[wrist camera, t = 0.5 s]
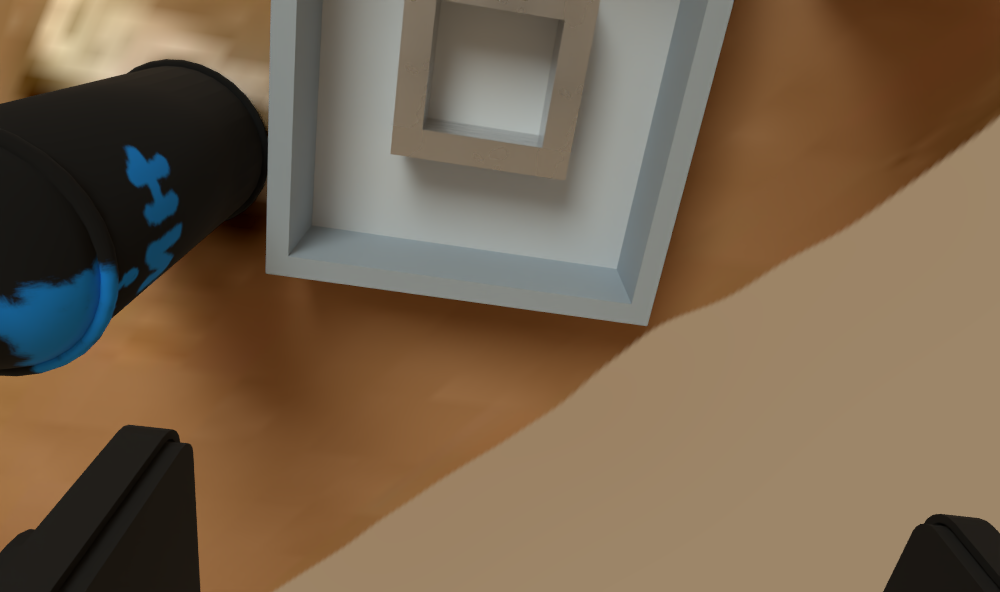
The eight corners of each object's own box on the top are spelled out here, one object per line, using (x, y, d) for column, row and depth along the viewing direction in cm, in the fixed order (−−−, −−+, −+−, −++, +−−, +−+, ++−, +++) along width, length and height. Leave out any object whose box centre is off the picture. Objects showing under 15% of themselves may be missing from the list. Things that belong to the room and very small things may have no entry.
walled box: (312, -217, 29) (276, -258, 24) (732, -140, 30) (777, -164, 25) (295, 235, 37) (265, 273, 32) (628, 282, 38) (647, 326, 33)
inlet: (416, -39, 31) (408, -41, 28) (592, -9, 32) (602, -9, 29) (398, 140, 34) (390, 154, 32) (559, 165, 35) (565, 180, 32)
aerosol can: (81, 172, 36) (-355, 369, 17) (136, 24, 33) (-316, 72, 15) (233, 251, 37) (-19, 504, 19) (297, 116, 35) (74, 264, 16)
